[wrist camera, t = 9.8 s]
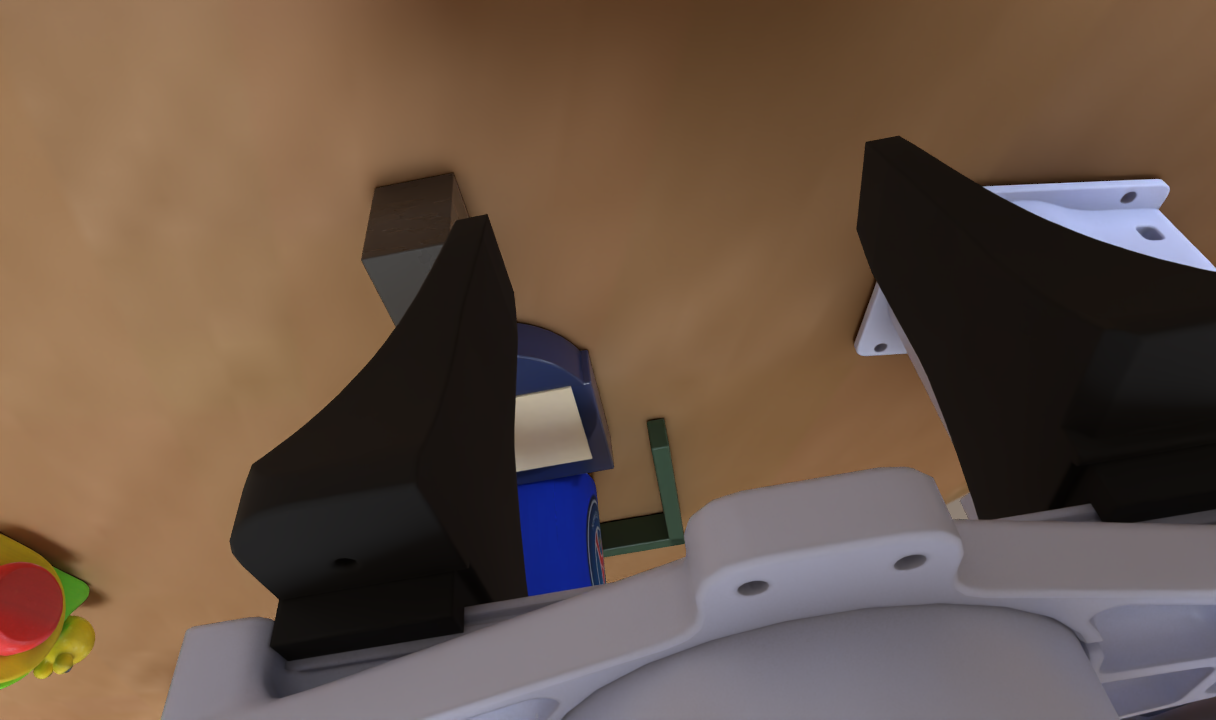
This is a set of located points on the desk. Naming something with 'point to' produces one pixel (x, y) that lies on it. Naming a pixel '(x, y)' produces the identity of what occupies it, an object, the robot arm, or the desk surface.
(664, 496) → the green u-shaped bracket
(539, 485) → the beverage can
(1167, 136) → the desk surface
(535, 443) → the blue stamp
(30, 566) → the toy measuring tape
